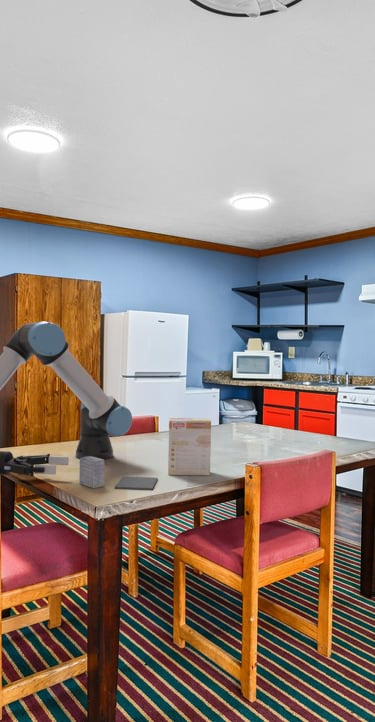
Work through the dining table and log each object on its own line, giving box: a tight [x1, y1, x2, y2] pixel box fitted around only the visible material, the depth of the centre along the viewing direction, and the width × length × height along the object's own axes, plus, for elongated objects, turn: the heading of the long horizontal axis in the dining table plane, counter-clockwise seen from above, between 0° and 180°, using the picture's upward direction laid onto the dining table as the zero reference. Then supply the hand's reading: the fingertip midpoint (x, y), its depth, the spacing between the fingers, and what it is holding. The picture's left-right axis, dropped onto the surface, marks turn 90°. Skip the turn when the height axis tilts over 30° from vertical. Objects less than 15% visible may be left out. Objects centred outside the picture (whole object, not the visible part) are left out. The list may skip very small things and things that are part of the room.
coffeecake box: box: [167, 417, 212, 476], centre depth 189 cm, size 15×7×20 cm, turn 92°
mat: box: [114, 475, 159, 491], centre depth 172 cm, size 14×12×1 cm
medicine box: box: [79, 456, 105, 489], centre depth 169 cm, size 8×4×9 cm, turn 45°
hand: (62, 465), depth 170 cm, fingers open, 13 cm apart
